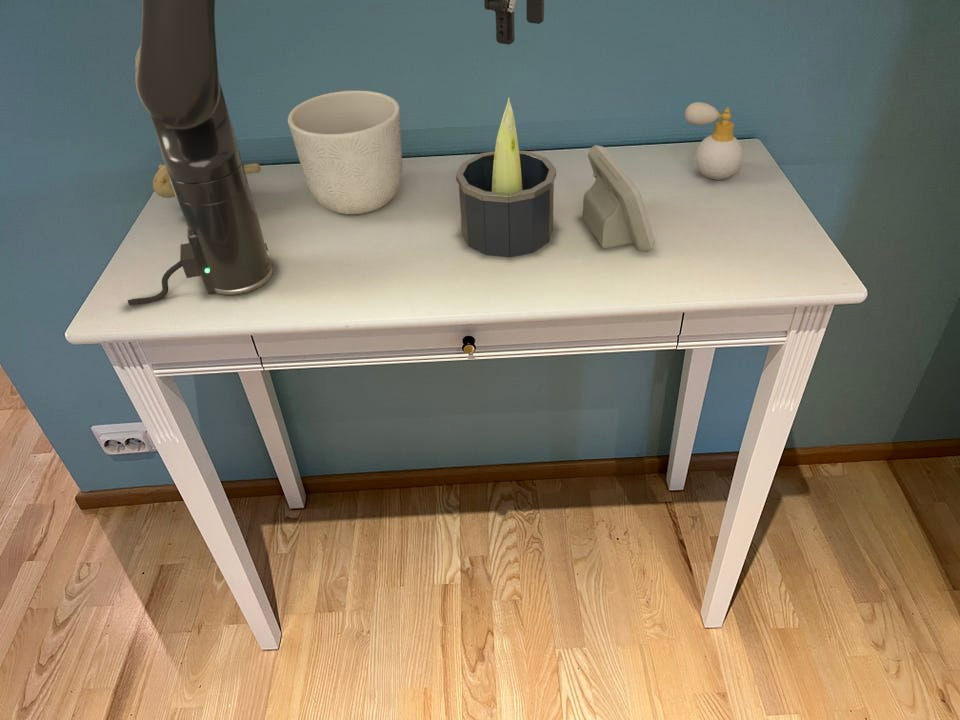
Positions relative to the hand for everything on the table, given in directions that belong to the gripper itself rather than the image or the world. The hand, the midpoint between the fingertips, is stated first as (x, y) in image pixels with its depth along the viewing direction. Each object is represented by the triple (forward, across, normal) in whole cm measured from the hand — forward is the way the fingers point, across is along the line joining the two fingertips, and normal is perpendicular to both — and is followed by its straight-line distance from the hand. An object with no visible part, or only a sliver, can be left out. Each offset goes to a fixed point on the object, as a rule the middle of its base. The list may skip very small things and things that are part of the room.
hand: (520, 32), depth 94 cm
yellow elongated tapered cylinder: (+29, +2, -1) cm, 29 cm away
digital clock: (+29, -5, +14) cm, 32 cm away
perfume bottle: (+29, -27, +21) cm, 45 cm away
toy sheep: (+29, +16, -49) cm, 59 cm away
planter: (+29, +4, -28) cm, 41 cm away
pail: (+29, +2, -1) cm, 29 cm away
